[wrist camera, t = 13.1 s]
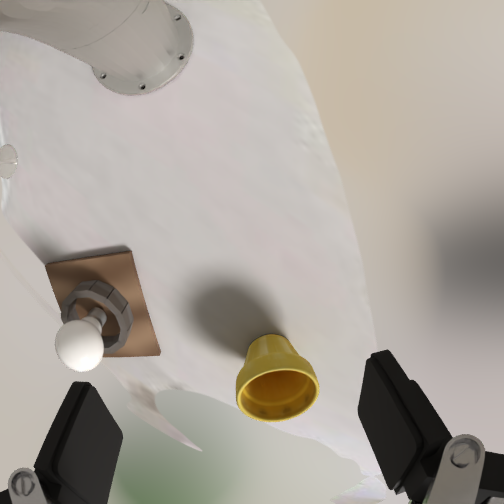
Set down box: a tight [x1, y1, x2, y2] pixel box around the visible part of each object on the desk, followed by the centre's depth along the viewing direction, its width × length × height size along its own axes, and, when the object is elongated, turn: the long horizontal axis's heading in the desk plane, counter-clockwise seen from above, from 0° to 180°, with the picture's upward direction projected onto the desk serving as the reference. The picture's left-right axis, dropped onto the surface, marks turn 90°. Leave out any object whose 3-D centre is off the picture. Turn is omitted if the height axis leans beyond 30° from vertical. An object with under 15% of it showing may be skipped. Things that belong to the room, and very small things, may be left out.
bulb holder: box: [45, 251, 161, 357], centre depth 37 cm, size 16×14×4 cm
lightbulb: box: [55, 307, 107, 372], centre depth 33 cm, size 6×6×11 cm
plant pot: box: [236, 334, 319, 422], centre depth 38 cm, size 10×10×10 cm
